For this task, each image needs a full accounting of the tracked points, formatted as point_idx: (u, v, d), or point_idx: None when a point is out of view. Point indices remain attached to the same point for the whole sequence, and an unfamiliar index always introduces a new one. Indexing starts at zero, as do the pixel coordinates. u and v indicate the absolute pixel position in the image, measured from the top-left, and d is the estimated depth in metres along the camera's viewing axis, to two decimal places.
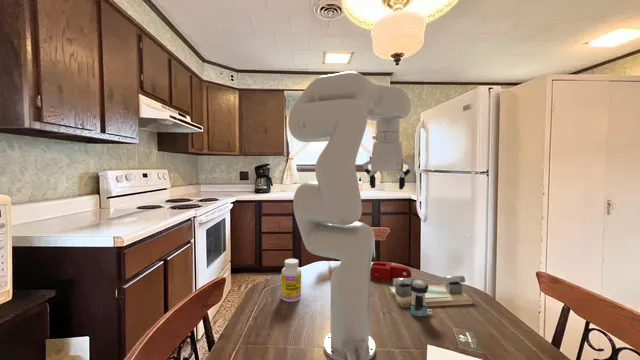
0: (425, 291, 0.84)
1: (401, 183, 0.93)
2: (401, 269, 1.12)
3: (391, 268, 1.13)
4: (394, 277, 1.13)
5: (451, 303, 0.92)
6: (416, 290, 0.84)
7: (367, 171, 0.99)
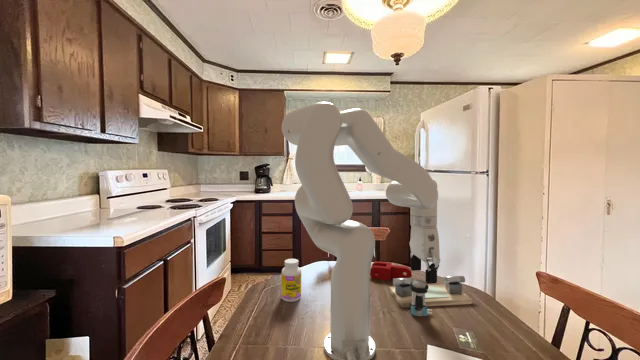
0: (425, 291, 0.84)
1: None
2: (401, 269, 1.12)
3: (391, 268, 1.13)
4: (394, 277, 1.13)
5: (451, 303, 0.92)
6: (416, 290, 0.84)
7: None
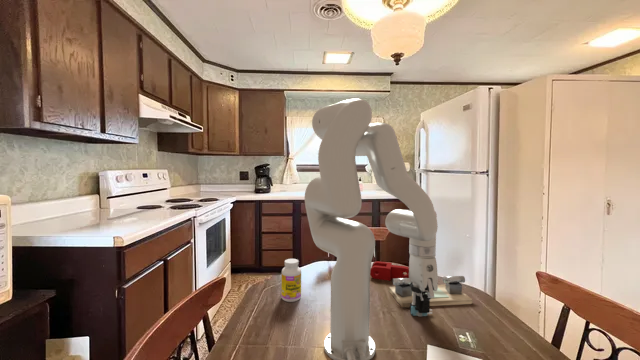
0: None
1: None
2: (402, 269, 1.12)
3: (391, 268, 1.13)
4: (394, 277, 1.13)
5: (451, 303, 0.92)
6: (416, 290, 0.84)
7: None
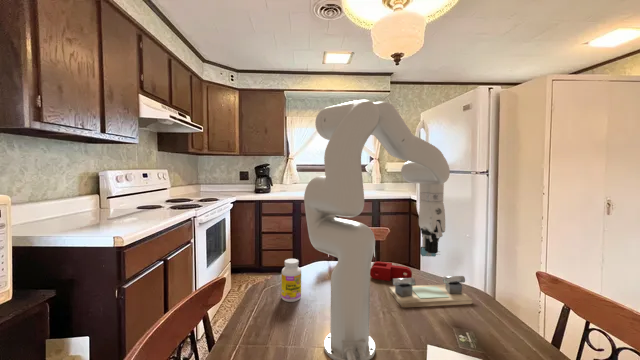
0: None
1: None
2: (402, 269, 1.12)
3: (392, 268, 1.13)
4: (395, 277, 1.13)
5: (451, 303, 0.92)
6: (426, 233, 0.94)
7: None
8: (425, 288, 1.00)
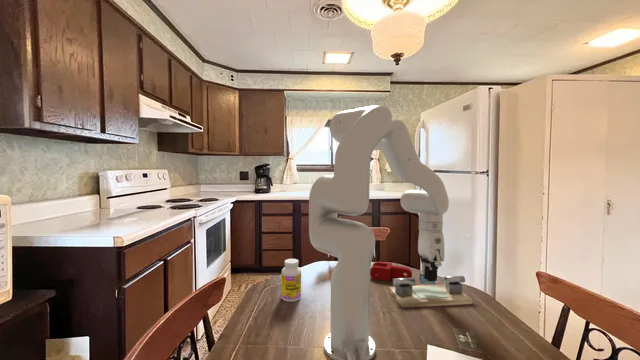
0: (433, 262, 0.95)
1: None
2: (402, 270, 1.11)
3: (392, 268, 1.13)
4: (395, 277, 1.13)
5: (451, 303, 0.92)
6: (425, 261, 0.95)
7: None
8: (425, 288, 1.00)
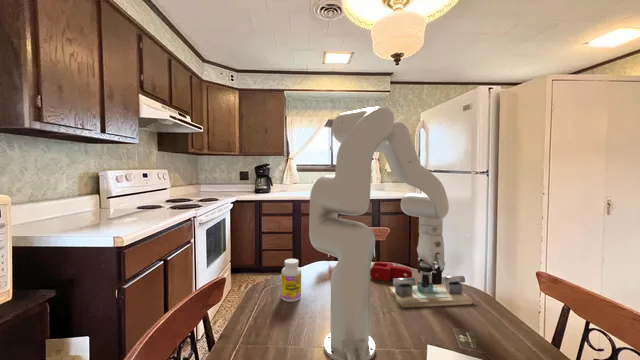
0: (431, 270, 0.96)
1: None
2: (402, 270, 1.11)
3: (392, 269, 1.13)
4: (395, 278, 1.12)
5: (451, 303, 0.92)
6: (423, 269, 0.96)
7: None
8: None
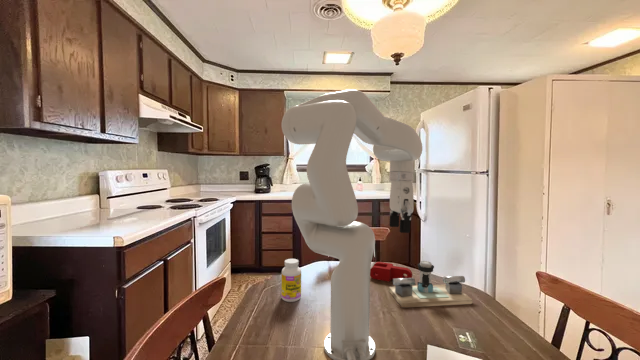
0: (431, 270, 0.96)
1: None
2: (402, 270, 1.11)
3: (392, 269, 1.12)
4: (394, 278, 1.12)
5: (451, 303, 0.92)
6: (423, 269, 0.96)
7: None
8: None
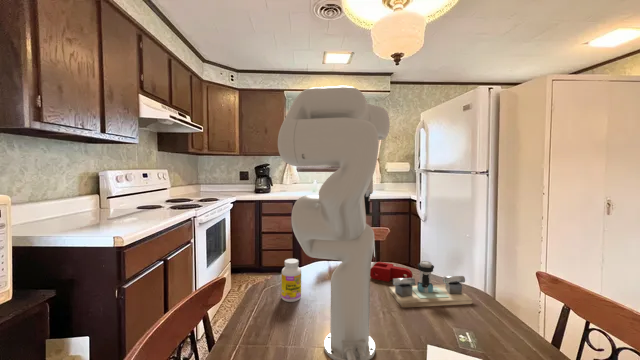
0: (431, 270, 0.96)
1: None
2: (401, 271, 1.10)
3: (391, 269, 1.12)
4: (394, 278, 1.12)
5: (451, 303, 0.92)
6: (423, 269, 0.96)
7: None
8: None
